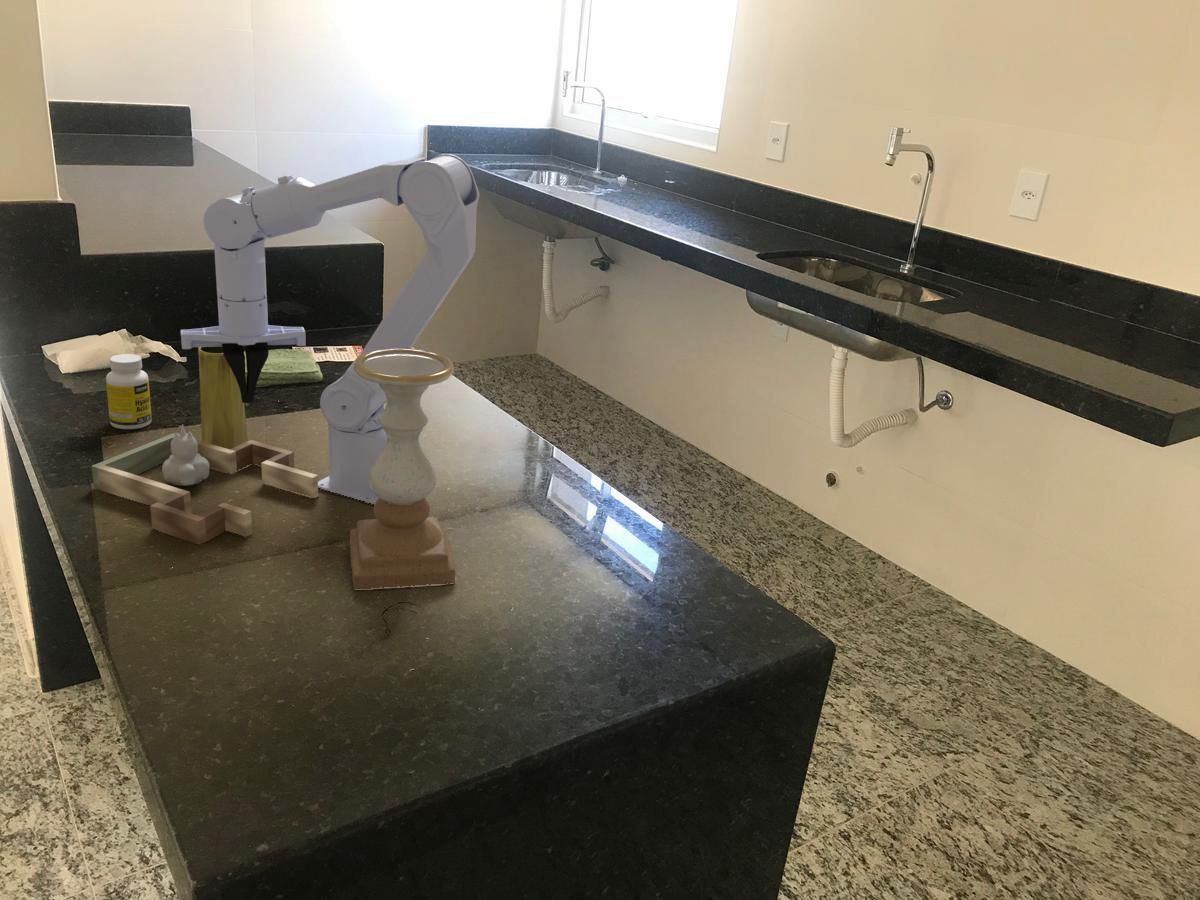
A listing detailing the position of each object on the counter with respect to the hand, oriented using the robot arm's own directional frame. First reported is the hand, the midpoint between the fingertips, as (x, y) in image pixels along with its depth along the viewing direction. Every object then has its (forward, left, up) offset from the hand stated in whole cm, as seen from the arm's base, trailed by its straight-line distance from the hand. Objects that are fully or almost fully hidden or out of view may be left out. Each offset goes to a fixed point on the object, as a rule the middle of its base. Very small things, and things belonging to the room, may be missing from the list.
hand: (247, 399), depth 124 cm
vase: (+8, -4, -10) cm, 13 cm away
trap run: (0, +8, -10) cm, 13 cm away
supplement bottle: (+24, -3, -10) cm, 26 cm away
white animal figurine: (+3, +8, -10) cm, 13 cm away
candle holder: (-30, +10, -10) cm, 33 cm away
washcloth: (+24, -31, -11) cm, 40 cm away
